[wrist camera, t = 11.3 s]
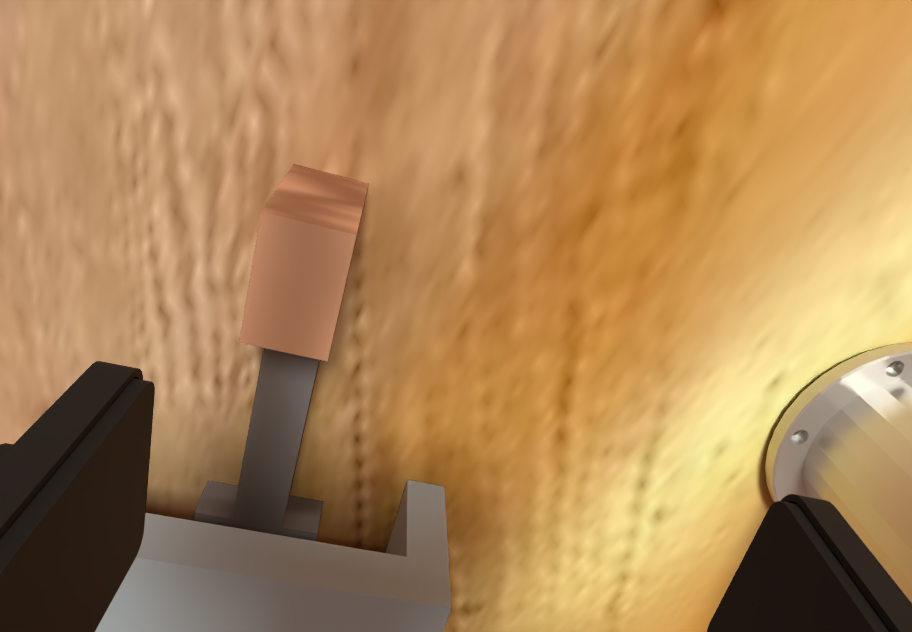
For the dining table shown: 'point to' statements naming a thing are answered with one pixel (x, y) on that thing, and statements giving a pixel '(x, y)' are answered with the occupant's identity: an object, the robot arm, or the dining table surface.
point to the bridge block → (288, 578)
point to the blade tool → (289, 345)
